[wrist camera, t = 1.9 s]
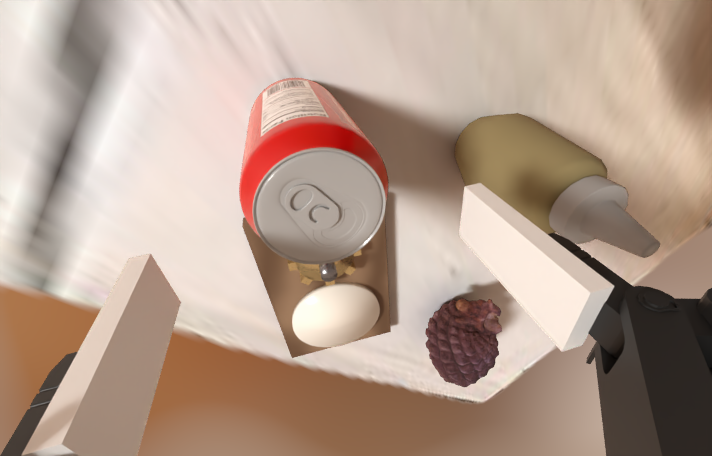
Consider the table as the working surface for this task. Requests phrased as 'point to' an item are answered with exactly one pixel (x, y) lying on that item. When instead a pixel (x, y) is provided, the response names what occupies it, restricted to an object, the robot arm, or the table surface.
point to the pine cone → (464, 340)
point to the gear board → (320, 284)
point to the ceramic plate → (335, 314)
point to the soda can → (310, 175)
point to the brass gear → (324, 270)
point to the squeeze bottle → (549, 182)
